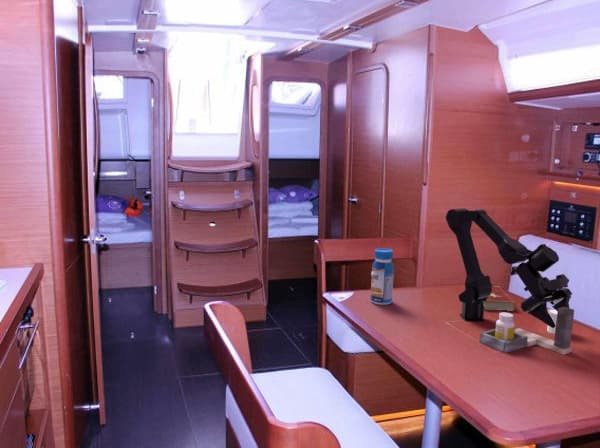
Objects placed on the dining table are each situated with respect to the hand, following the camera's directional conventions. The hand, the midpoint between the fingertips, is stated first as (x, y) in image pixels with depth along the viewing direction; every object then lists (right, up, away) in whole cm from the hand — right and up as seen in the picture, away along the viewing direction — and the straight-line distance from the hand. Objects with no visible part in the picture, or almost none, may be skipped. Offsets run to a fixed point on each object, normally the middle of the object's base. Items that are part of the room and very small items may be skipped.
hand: (563, 324), depth 162 cm
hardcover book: (-5, -1, +48) cm, 48 cm away
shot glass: (+6, -6, +17) cm, 19 cm away
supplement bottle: (-16, -7, +5) cm, 18 cm away
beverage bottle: (-47, 0, +44) cm, 65 cm away
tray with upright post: (-10, -7, +3) cm, 13 cm away
